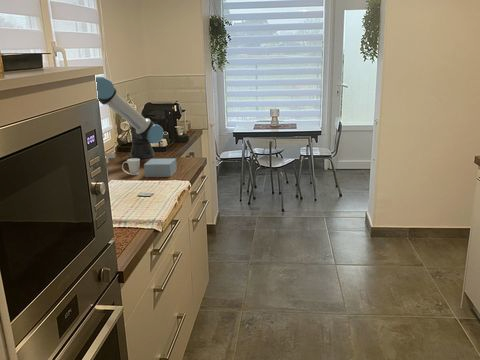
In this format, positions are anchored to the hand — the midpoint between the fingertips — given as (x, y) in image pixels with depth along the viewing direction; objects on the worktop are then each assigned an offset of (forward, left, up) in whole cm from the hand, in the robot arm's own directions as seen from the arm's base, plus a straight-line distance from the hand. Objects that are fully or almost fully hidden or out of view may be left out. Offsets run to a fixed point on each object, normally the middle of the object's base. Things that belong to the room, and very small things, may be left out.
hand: (111, 157), depth 244 cm
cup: (0, +10, -10) cm, 14 cm away
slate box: (0, +26, -10) cm, 28 cm away
